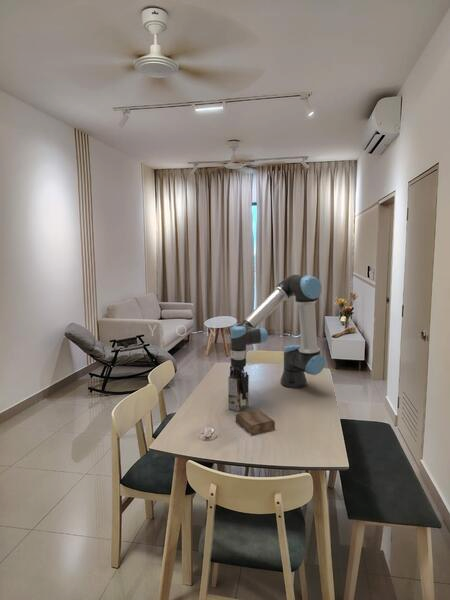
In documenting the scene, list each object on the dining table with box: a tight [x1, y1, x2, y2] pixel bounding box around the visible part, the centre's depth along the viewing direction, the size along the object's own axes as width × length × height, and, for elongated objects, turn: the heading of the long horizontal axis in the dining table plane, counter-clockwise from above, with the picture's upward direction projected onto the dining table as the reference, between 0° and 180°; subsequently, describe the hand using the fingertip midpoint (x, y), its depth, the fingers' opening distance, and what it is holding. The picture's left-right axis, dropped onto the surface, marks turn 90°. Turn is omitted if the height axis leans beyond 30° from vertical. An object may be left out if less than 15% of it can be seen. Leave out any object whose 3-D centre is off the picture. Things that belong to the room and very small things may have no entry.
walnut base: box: [235, 408, 276, 436], centre depth 171 cm, size 12×14×4 cm
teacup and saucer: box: [203, 426, 215, 438], centre depth 162 cm, size 9×8×4 cm
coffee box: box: [227, 374, 250, 412], centre depth 190 cm, size 9×6×16 cm
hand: (238, 401), depth 191 cm, fingers closed on coffee box, 8 cm apart
